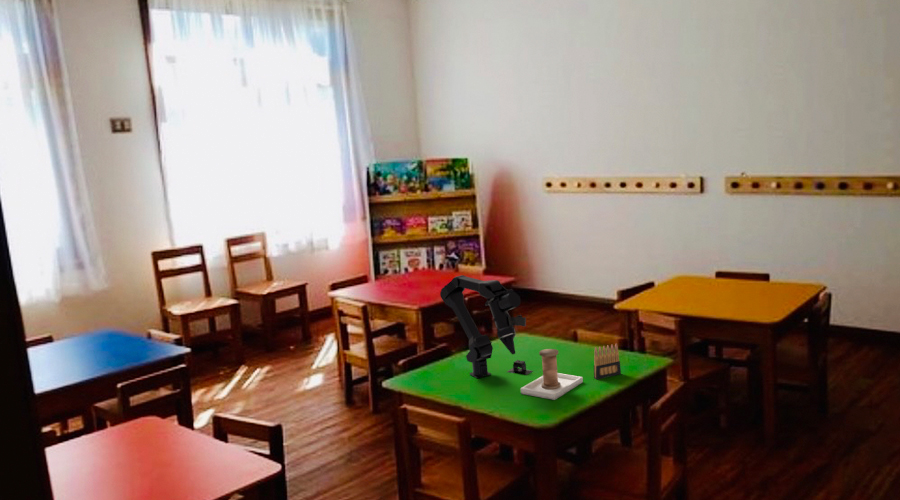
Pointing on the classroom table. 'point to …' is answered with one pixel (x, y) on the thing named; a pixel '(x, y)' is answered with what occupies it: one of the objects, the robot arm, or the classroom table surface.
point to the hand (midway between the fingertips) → (513, 354)
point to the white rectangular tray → (566, 385)
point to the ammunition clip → (606, 362)
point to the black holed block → (518, 370)
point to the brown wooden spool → (549, 369)
